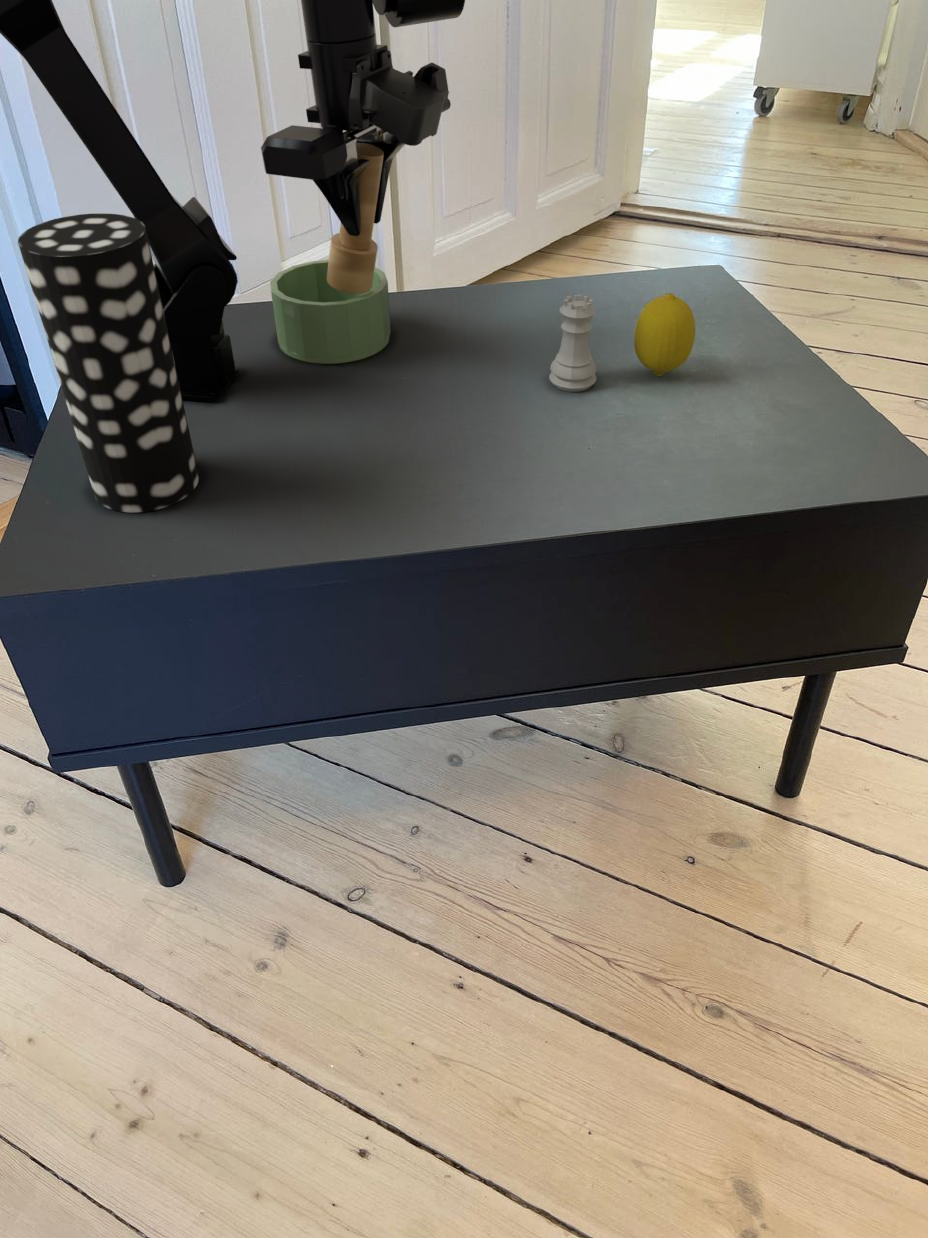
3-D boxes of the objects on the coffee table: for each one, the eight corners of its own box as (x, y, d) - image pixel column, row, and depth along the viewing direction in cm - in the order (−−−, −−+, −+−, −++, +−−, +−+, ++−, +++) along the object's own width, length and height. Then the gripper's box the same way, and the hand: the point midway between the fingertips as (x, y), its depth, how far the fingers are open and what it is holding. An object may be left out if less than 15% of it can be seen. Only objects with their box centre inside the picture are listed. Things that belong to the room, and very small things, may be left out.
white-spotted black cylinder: (111, 456, 82) (44, 212, 69) (209, 457, 82) (159, 213, 69) (79, 512, 76) (-3, 256, 63) (184, 513, 76) (125, 256, 63)
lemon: (623, 382, 92) (632, 300, 87) (638, 358, 96) (647, 278, 90) (681, 393, 90) (694, 309, 85) (693, 367, 94) (706, 286, 89)
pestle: (319, 284, 92) (335, 148, 84) (335, 267, 96) (351, 134, 87) (363, 298, 92) (383, 164, 84) (377, 280, 95) (398, 149, 87)
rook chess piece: (593, 395, 90) (601, 312, 85) (545, 391, 91) (550, 308, 85) (598, 373, 93) (605, 292, 88) (552, 369, 94) (556, 288, 89)
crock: (262, 358, 96) (253, 299, 92) (299, 311, 105) (292, 256, 101) (373, 368, 94) (369, 308, 90) (401, 320, 103) (399, 263, 99)
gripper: (360, 68, 70) (384, 279, 81) (481, 16, 82) (488, 205, 93) (240, 60, 75) (277, 261, 85) (371, 11, 87) (389, 192, 97)
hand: (364, 228), depth 90 cm, fingers closed on pestle, 3 cm apart
